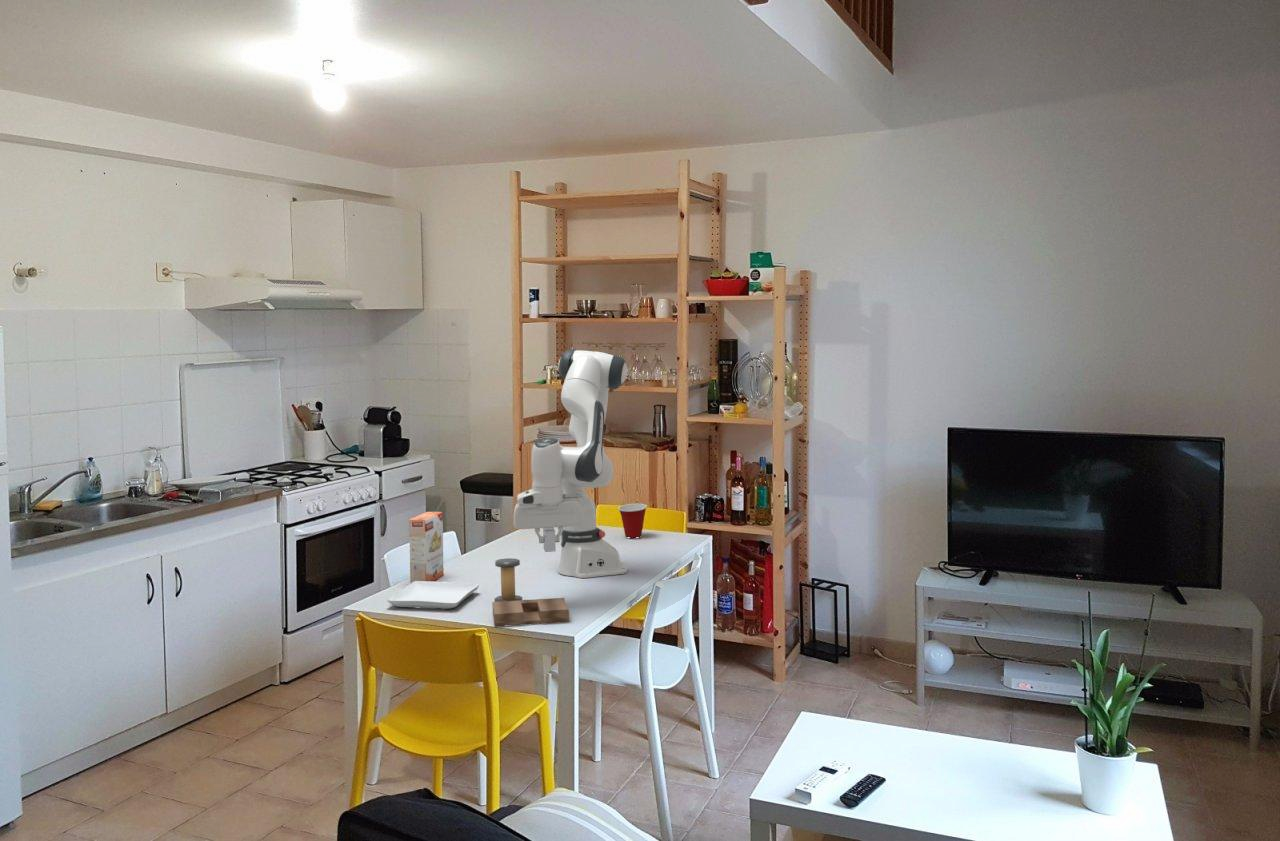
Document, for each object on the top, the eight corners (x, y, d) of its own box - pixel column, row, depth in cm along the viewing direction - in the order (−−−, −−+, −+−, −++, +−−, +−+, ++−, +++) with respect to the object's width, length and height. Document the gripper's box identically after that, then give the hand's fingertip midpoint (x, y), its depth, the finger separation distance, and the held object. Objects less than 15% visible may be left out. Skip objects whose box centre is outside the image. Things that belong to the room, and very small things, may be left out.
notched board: (564, 609, 292) (563, 597, 291) (569, 621, 280) (568, 609, 280) (492, 614, 288) (492, 602, 288) (494, 626, 276) (494, 614, 276)
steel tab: (553, 547, 301) (553, 527, 301) (555, 551, 297) (555, 530, 296) (543, 548, 301) (542, 527, 300) (545, 552, 296) (544, 531, 295)
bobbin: (521, 599, 303) (520, 557, 302) (523, 606, 296) (522, 563, 294) (494, 600, 302) (492, 558, 301) (495, 608, 294) (494, 565, 293)
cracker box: (428, 586, 319) (425, 519, 317) (409, 585, 321) (407, 519, 319) (445, 575, 333) (443, 511, 331) (427, 574, 334) (425, 510, 332)
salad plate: (456, 613, 291) (456, 601, 290) (385, 610, 294) (385, 599, 294) (481, 593, 311) (481, 582, 311) (414, 591, 315) (414, 580, 315)
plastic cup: (612, 537, 387) (611, 506, 386) (633, 533, 394) (633, 502, 393) (631, 542, 379) (631, 509, 378) (653, 537, 386) (652, 505, 385)
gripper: (582, 491, 302) (583, 537, 303) (511, 495, 298) (513, 542, 300) (585, 495, 296) (586, 542, 297) (513, 499, 292) (515, 547, 294)
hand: (549, 542), depth 299 cm, fingers closed on steel tab, 3 cm apart
